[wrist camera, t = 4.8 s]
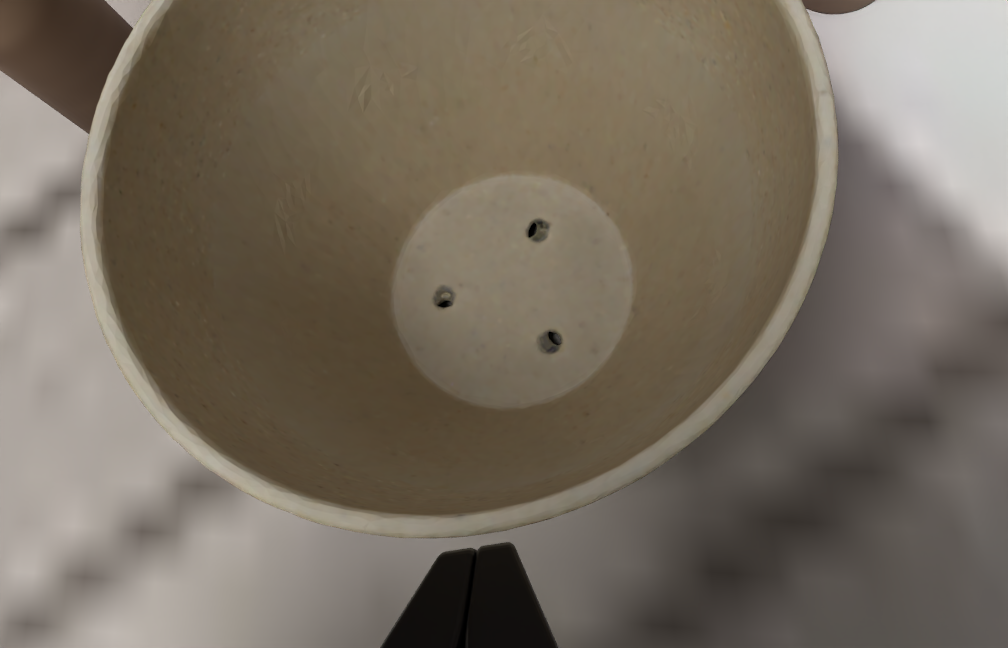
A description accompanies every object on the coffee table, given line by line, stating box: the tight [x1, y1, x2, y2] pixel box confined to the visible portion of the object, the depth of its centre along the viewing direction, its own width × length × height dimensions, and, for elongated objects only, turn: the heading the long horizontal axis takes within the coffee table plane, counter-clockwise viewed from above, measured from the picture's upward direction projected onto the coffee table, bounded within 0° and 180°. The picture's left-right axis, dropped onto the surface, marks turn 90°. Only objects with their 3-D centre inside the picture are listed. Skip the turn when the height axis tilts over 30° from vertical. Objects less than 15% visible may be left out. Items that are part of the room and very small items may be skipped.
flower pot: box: [80, 0, 838, 538], centre depth 14 cm, size 10×10×7 cm
